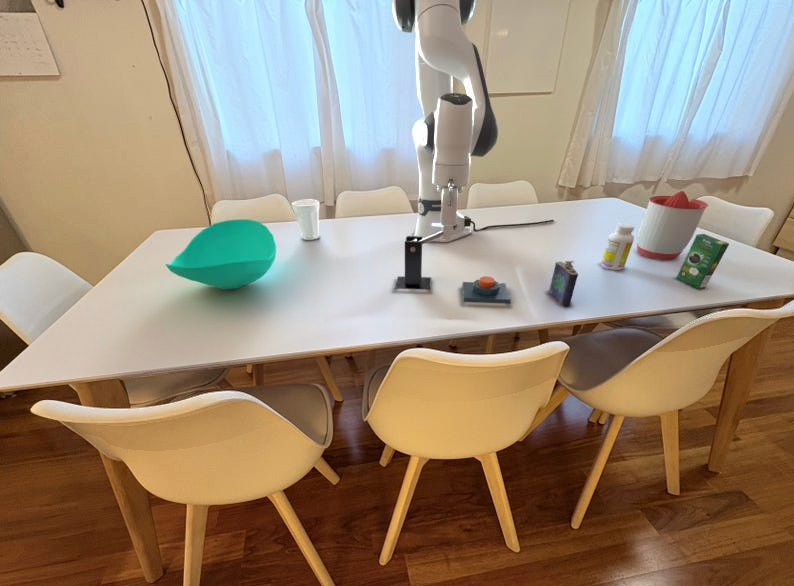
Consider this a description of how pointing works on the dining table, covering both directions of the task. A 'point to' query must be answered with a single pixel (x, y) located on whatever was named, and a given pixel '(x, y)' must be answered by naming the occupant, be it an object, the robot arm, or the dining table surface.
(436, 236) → the lever
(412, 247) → the bracket
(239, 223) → the table top decor
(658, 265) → the dining table surface
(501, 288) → the button box
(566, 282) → the flask
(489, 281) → the button
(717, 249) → the coffee box
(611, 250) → the supplement bottle
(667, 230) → the citrus juicer
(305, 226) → the cup
